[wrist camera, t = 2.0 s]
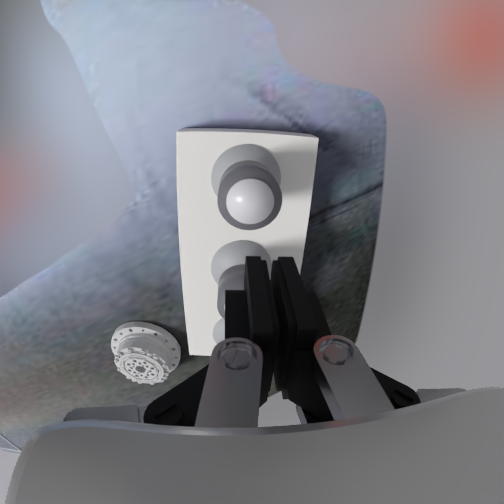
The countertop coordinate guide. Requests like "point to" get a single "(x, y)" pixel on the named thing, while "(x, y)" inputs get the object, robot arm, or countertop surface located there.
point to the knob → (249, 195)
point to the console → (219, 230)
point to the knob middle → (229, 284)
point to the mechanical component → (145, 352)
